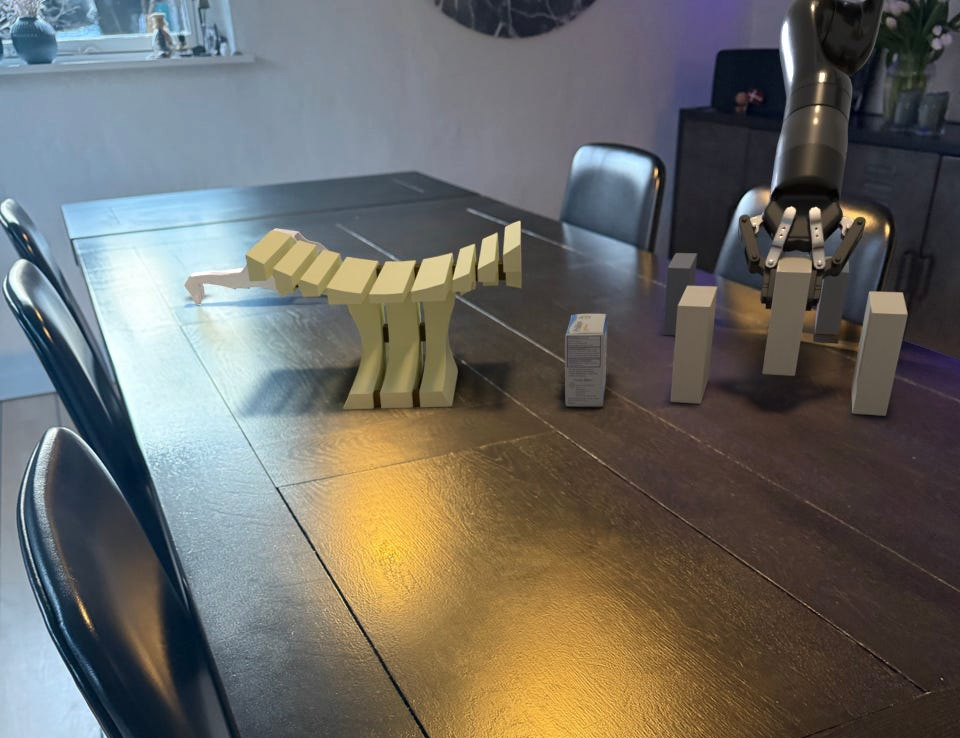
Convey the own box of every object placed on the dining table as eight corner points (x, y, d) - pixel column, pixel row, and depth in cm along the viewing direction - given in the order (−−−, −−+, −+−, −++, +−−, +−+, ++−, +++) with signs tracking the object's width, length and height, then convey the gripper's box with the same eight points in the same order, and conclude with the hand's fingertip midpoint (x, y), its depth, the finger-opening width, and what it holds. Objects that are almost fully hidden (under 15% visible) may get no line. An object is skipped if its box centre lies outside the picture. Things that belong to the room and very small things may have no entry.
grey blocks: (662, 335, 129) (667, 267, 124) (670, 317, 136) (675, 252, 130) (837, 343, 123) (849, 272, 118) (836, 324, 129) (848, 256, 124)
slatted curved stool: (523, 360, 123) (520, 215, 112) (523, 404, 109) (520, 244, 99) (299, 367, 124) (277, 224, 114) (273, 411, 111) (245, 254, 101)
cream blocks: (670, 402, 108) (677, 305, 102) (679, 377, 115) (687, 285, 108) (885, 416, 102) (907, 314, 96) (882, 389, 108) (902, 292, 102)
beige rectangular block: (762, 374, 103) (776, 271, 97) (765, 351, 110) (779, 253, 103) (794, 376, 103) (811, 272, 96) (796, 353, 109) (812, 254, 102)
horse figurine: (331, 348, 159) (186, 295, 155) (357, 253, 150) (204, 194, 146) (326, 357, 155) (178, 303, 151) (353, 260, 146) (195, 200, 142)
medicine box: (602, 408, 107) (605, 333, 102) (564, 408, 108) (564, 332, 103) (606, 385, 114) (608, 312, 109) (569, 384, 114) (570, 312, 109)
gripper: (745, 140, 101) (722, 285, 99) (883, 140, 98) (863, 290, 95) (742, 185, 108) (721, 321, 106) (871, 186, 105) (852, 327, 102)
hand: (788, 305), depth 101 cm, fingers closed on beige rectangular block, 3 cm apart
